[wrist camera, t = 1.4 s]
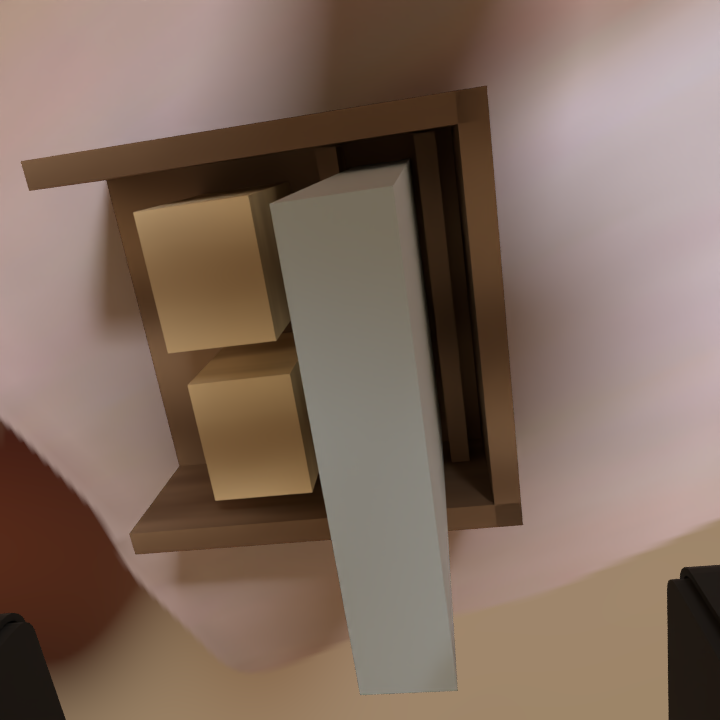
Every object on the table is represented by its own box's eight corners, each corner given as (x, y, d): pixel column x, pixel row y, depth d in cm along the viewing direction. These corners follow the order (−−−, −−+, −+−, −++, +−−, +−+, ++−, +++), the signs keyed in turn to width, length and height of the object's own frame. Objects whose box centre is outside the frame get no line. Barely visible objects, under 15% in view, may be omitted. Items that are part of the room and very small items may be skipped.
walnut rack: (110, 155, 30) (20, 161, 23) (471, 97, 28) (486, 85, 21) (190, 474, 34) (135, 554, 28) (502, 445, 32) (522, 524, 26)
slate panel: (353, 166, 28) (269, 204, 13) (409, 158, 28) (393, 185, 12) (390, 427, 32) (360, 695, 16) (441, 422, 31) (457, 690, 16)
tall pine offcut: (199, 194, 29) (133, 212, 22) (288, 181, 28) (248, 195, 22) (223, 305, 30) (167, 353, 24) (308, 295, 30) (276, 340, 23)
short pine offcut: (230, 339, 31) (187, 385, 25) (314, 329, 30) (290, 373, 25) (251, 436, 32) (215, 500, 27) (332, 429, 32) (312, 492, 26)
